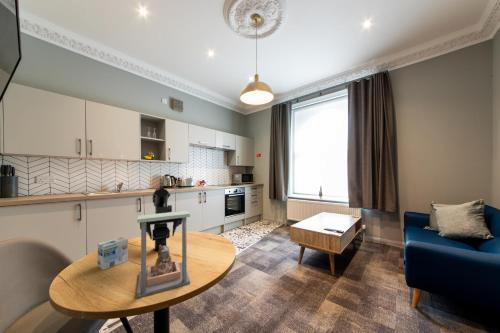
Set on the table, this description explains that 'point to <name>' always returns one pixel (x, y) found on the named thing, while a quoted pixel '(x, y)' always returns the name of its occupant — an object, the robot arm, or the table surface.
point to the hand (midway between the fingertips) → (162, 237)
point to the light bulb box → (112, 253)
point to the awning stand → (146, 277)
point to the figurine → (163, 262)
